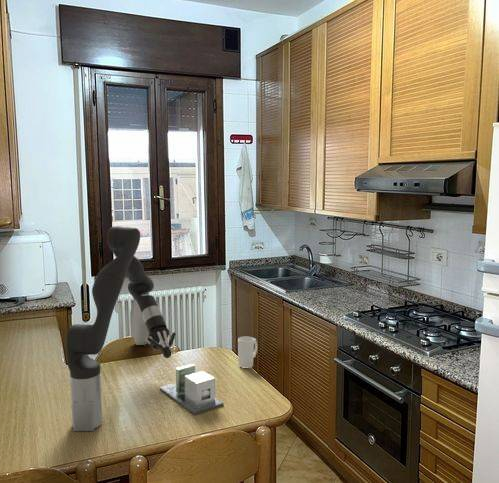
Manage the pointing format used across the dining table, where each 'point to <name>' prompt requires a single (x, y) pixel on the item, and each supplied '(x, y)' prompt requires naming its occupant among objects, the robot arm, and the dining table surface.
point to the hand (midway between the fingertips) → (168, 357)
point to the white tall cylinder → (138, 324)
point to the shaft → (180, 379)
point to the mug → (246, 351)
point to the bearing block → (195, 393)
